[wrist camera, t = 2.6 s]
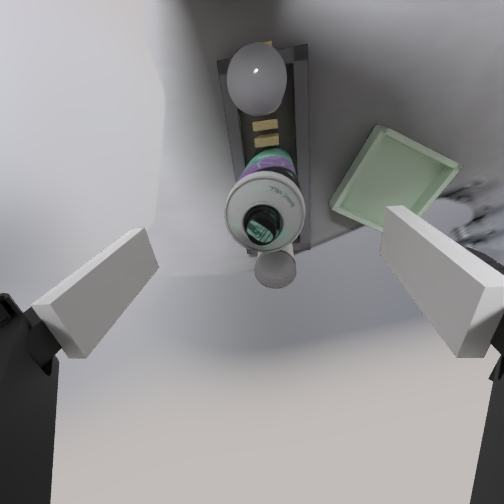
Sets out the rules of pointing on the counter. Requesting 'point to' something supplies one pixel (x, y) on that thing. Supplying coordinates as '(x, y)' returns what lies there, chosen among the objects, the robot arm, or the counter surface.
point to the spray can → (266, 203)
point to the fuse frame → (300, 76)
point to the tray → (391, 178)
